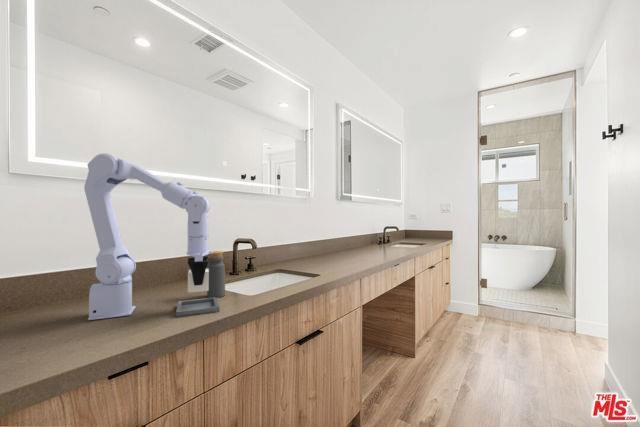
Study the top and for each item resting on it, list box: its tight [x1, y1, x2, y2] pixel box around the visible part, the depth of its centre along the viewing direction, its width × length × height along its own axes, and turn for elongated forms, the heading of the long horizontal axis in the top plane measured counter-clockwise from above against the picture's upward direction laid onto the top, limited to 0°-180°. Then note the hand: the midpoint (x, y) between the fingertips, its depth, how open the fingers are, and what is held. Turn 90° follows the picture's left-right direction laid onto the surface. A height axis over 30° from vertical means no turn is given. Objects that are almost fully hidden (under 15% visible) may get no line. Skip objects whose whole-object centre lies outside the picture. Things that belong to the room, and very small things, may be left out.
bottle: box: [206, 250, 226, 299], centre depth 99 cm, size 6×6×15 cm
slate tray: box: [175, 297, 220, 318], centre depth 85 cm, size 11×11×1 cm
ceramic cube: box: [187, 268, 209, 294], centre depth 85 cm, size 6×6×6 cm
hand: (198, 282), depth 85 cm, fingers closed on ceramic cube, 6 cm apart
